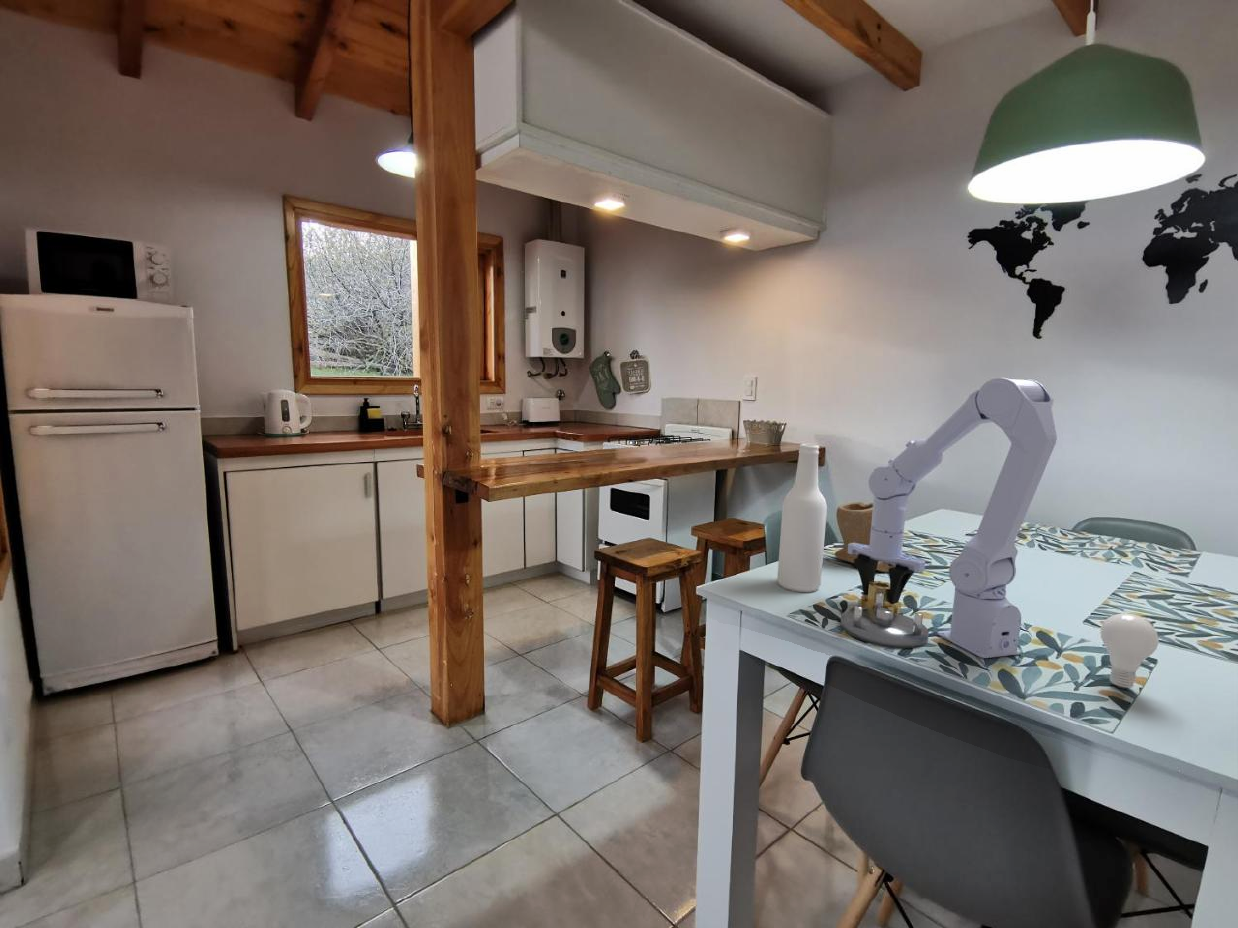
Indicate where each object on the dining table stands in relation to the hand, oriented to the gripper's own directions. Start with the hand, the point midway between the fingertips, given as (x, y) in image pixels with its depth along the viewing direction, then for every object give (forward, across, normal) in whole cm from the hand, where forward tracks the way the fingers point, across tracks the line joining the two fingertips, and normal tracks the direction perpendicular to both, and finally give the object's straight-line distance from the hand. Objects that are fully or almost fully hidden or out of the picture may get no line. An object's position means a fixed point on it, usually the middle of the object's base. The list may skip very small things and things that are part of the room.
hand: (880, 598), depth 116 cm
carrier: (+2, -6, +10) cm, 12 cm away
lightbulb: (+2, -37, -2) cm, 37 cm away
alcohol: (+2, +16, +4) cm, 17 cm away
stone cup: (+2, +17, -22) cm, 28 cm away
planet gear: (+2, 0, 0) cm, 2 cm away
